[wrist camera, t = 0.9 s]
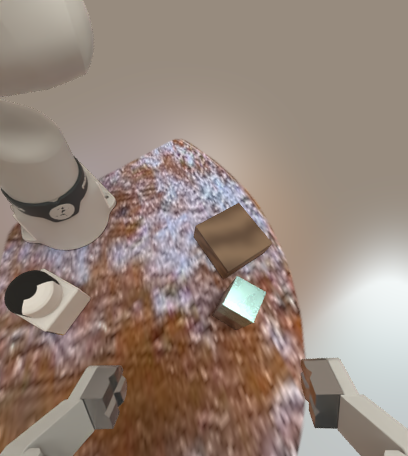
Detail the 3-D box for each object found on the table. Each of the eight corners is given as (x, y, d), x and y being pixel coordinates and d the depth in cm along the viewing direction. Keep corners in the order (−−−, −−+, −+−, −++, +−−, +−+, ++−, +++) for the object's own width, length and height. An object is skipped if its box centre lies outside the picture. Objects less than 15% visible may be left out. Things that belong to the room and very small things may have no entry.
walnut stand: (193, 236, 53) (195, 226, 48) (233, 214, 57) (238, 202, 52) (223, 279, 49) (228, 271, 45) (263, 252, 53) (272, 243, 49)
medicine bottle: (30, 315, 42) (-17, 301, 32) (59, 279, 45) (26, 256, 35) (64, 336, 41) (27, 328, 31) (92, 298, 45) (67, 279, 34)
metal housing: (212, 315, 46) (222, 304, 36) (224, 292, 48) (237, 276, 38) (235, 330, 45) (253, 322, 35) (246, 305, 47) (266, 292, 38)
